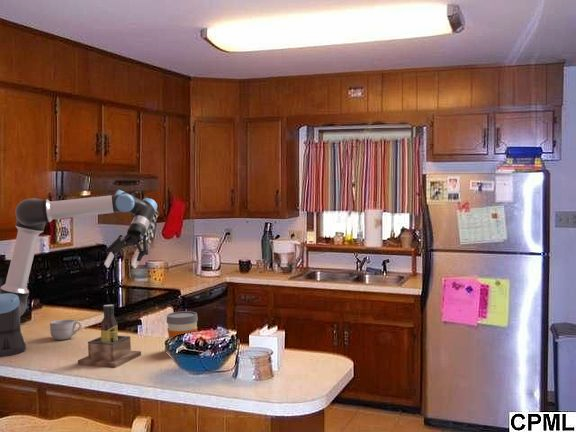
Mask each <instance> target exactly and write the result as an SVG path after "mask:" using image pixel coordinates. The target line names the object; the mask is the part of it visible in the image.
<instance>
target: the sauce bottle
mask: <svg viewBox="0 0 576 432" xmlns="http://www.w3.org/2000/svg"><path fill="white" fill-rule="evenodd" d="M102 309H103V319H102V321H101V322H100V326H101V328H100V335H101V336H100V337H101V342H109V343H113V342H115V341H117V340H118V336H119V334H118V333H119V332H118V327H119V326H118V322H117V320H116V318H115V311H114V309H115V304H104V305H103V306H102Z"/></svg>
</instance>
